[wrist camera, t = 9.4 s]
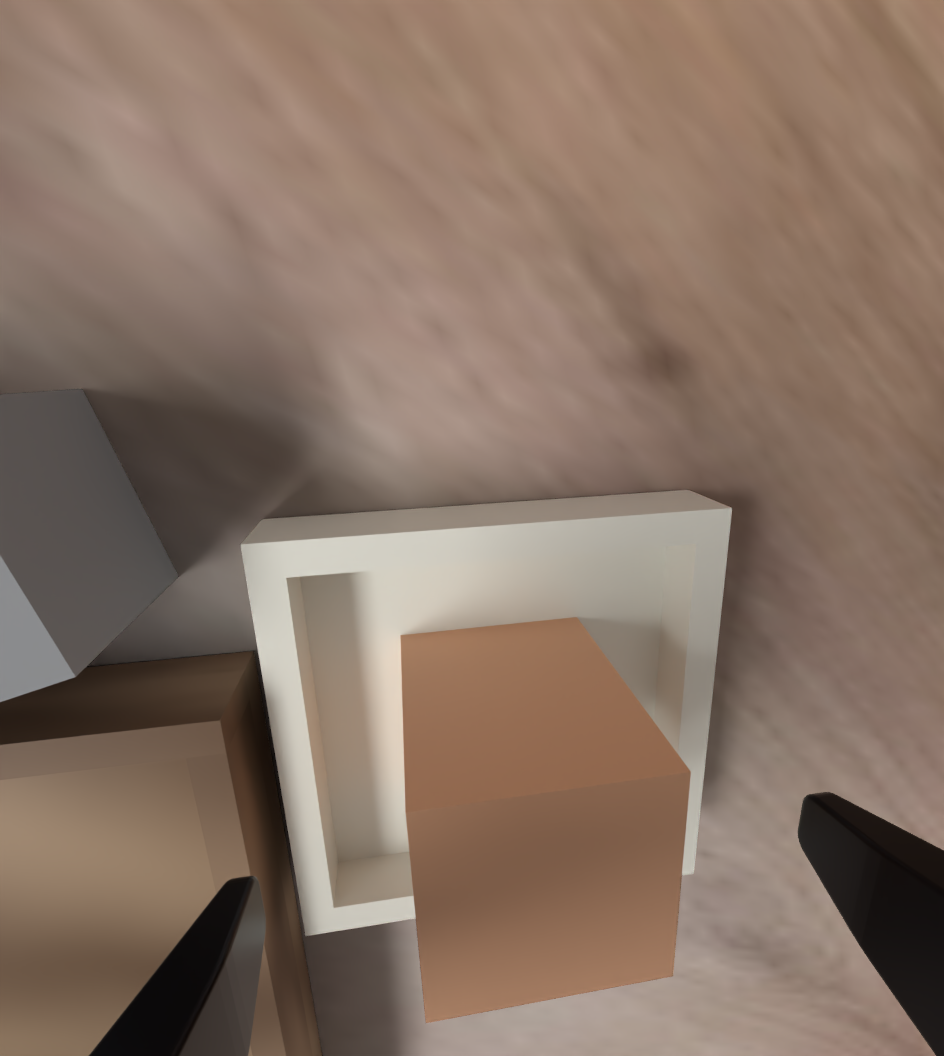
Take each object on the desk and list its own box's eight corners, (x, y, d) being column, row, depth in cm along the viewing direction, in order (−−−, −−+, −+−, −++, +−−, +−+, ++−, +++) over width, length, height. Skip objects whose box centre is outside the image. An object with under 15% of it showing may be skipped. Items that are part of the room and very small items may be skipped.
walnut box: (330, 1103, 17) (319, 1227, 14) (-89, 1186, 15) (-179, 1339, 13) (254, 650, 12) (220, 720, 10) (-350, 709, 11) (-562, 808, 8)
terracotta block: (576, 617, 12) (690, 771, 8) (574, 763, 14) (672, 976, 9) (400, 635, 12) (405, 812, 7) (413, 785, 13) (426, 1023, 8)
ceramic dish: (661, 819, 15) (693, 873, 14) (315, 870, 14) (305, 935, 12) (688, 489, 12) (732, 508, 11) (262, 519, 11) (240, 544, 10)
